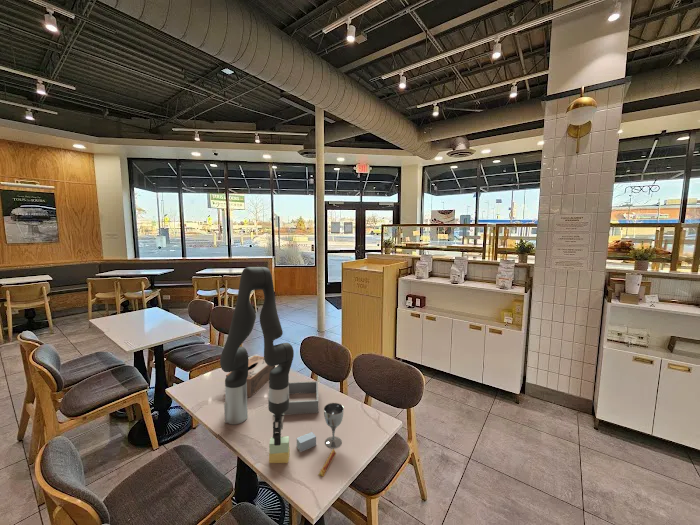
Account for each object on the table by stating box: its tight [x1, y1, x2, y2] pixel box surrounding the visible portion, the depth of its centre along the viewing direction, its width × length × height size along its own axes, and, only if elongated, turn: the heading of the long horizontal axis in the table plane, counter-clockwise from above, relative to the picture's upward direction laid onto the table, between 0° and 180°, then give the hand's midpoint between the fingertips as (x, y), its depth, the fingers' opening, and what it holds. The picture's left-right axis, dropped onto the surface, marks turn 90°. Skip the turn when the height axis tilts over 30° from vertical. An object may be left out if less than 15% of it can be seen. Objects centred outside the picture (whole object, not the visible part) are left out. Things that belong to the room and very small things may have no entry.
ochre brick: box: [268, 446, 291, 464], centre depth 115 cm, size 7×4×4 cm, turn 91°
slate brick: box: [296, 431, 317, 453], centre depth 122 cm, size 7×4×4 cm, turn 124°
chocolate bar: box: [317, 449, 337, 477], centre depth 113 cm, size 3×12×2 cm, turn 160°
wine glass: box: [323, 402, 345, 450], centre depth 124 cm, size 8×8×15 cm
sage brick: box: [268, 435, 290, 455], centre depth 114 cm, size 7×4×4 cm, turn 98°
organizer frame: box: [284, 380, 319, 416], centre depth 152 cm, size 19×19×6 cm
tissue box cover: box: [225, 355, 276, 398], centre depth 170 cm, size 26×14×10 cm, turn 165°
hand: (278, 436), depth 114 cm, fingers open, 8 cm apart
